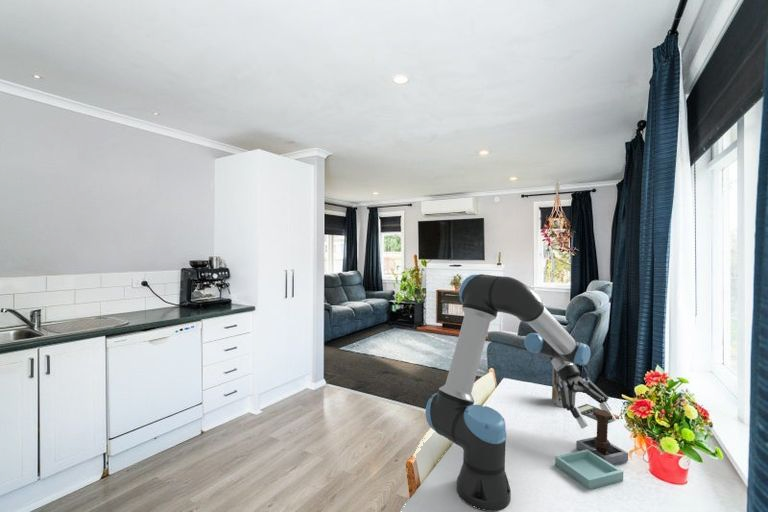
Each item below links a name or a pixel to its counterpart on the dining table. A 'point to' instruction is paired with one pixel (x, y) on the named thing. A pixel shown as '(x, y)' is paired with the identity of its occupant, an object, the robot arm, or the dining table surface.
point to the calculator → (590, 411)
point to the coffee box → (556, 388)
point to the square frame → (614, 458)
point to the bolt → (602, 430)
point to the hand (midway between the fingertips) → (599, 424)
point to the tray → (589, 469)
